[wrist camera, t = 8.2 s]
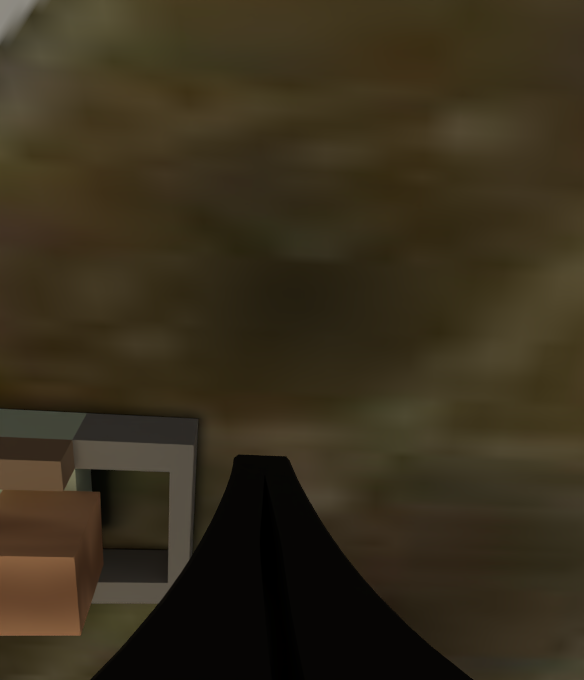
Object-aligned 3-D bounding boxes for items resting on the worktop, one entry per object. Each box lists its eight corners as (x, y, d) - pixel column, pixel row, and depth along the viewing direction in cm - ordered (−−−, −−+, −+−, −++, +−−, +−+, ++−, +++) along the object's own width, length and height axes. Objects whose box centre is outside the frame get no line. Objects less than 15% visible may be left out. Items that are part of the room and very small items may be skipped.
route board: (191, 570, 26) (184, 629, 23) (-64, 567, 25) (-108, 631, 22) (198, 418, 22) (190, 466, 19) (-106, 403, 21) (-168, 452, 18)
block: (103, 564, 23) (80, 635, 20) (15, 562, 22) (-23, 635, 19) (100, 491, 21) (74, 557, 18) (3, 488, 21) (-41, 555, 17)
